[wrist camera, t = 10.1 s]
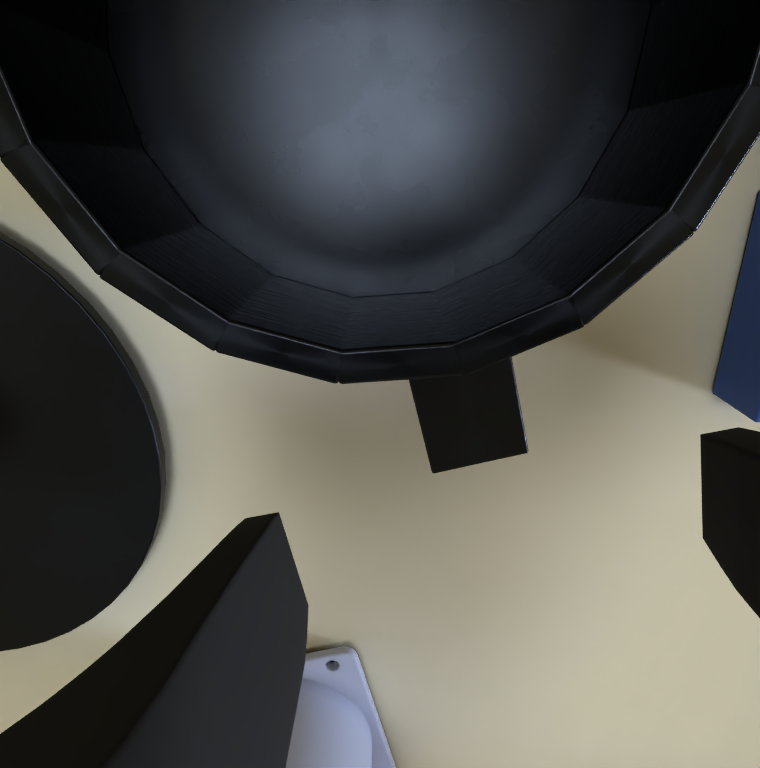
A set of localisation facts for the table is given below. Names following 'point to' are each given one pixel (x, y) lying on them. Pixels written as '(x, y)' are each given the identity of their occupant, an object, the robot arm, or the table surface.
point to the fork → (744, 335)
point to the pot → (380, 172)
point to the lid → (68, 456)
